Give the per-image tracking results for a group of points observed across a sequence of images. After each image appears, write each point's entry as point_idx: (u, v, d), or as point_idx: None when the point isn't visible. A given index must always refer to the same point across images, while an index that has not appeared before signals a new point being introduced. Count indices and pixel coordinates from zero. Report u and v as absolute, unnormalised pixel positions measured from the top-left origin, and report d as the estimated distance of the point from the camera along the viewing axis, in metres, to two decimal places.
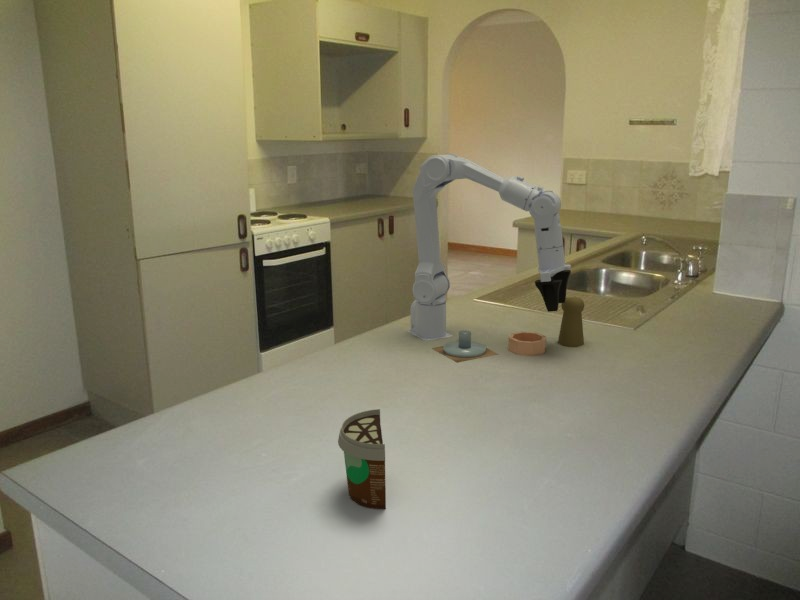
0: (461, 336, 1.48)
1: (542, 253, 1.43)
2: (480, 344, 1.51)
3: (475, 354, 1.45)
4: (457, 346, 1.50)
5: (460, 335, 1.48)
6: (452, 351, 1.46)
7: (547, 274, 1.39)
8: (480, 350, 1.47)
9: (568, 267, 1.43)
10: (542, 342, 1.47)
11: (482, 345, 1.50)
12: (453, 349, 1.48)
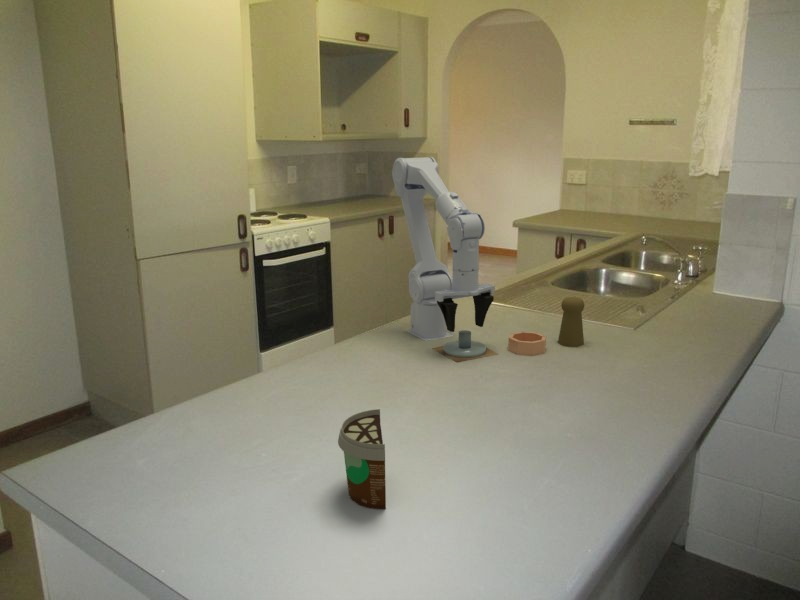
0: (461, 336, 1.48)
1: None
2: (480, 344, 1.51)
3: (475, 354, 1.45)
4: (457, 346, 1.50)
5: (460, 335, 1.48)
6: (452, 351, 1.46)
7: (438, 294, 1.42)
8: (480, 350, 1.47)
9: (471, 293, 1.42)
10: (542, 342, 1.47)
11: (482, 345, 1.50)
12: (453, 349, 1.48)
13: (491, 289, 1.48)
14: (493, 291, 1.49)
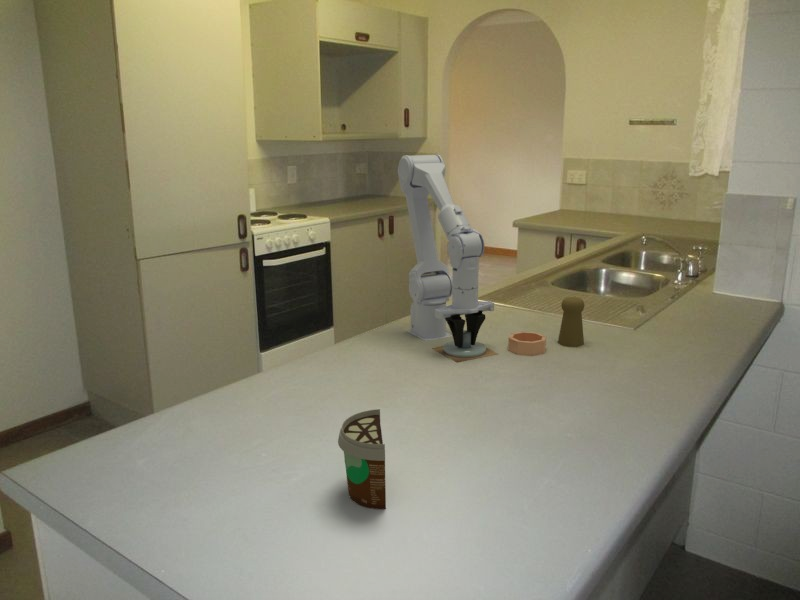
0: None
1: (452, 291, 1.46)
2: (480, 344, 1.51)
3: (475, 354, 1.45)
4: None
5: None
6: (452, 351, 1.46)
7: (438, 312, 1.43)
8: (480, 350, 1.47)
9: (470, 311, 1.44)
10: (542, 342, 1.47)
11: (482, 345, 1.50)
12: (453, 349, 1.48)
13: (491, 306, 1.49)
14: (493, 308, 1.50)
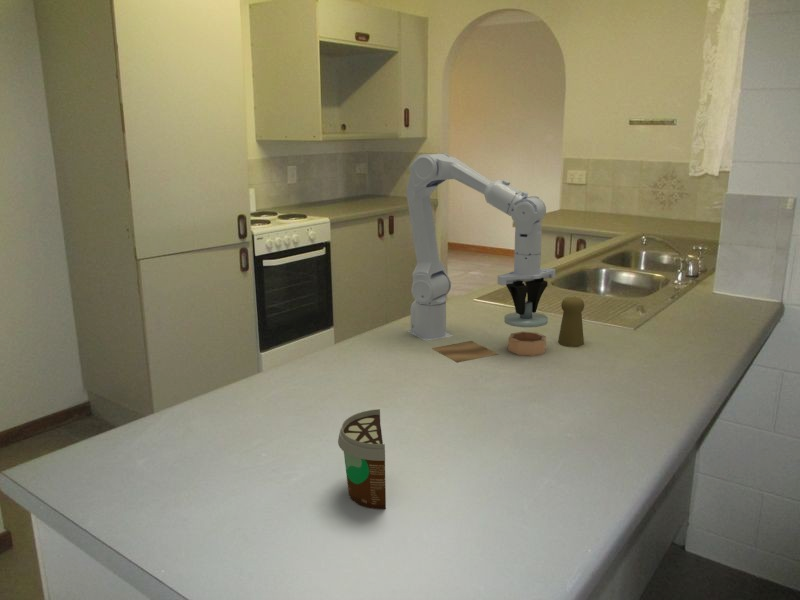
0: None
1: (514, 257, 1.45)
2: (539, 314, 1.50)
3: (540, 323, 1.44)
4: (518, 317, 1.48)
5: None
6: (516, 321, 1.45)
7: (501, 278, 1.42)
8: (543, 319, 1.46)
9: (534, 277, 1.42)
10: (542, 342, 1.47)
11: (542, 315, 1.50)
12: (516, 320, 1.46)
13: (552, 273, 1.48)
14: (554, 275, 1.48)
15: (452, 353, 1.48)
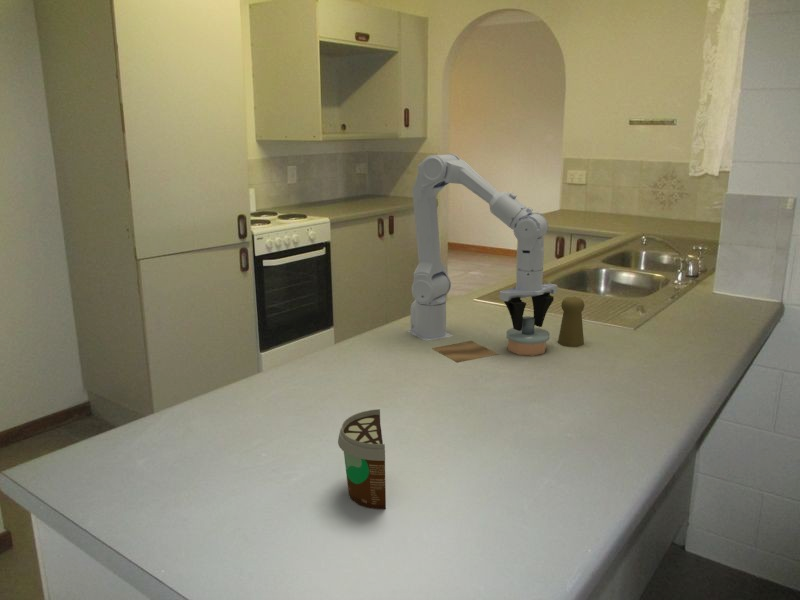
0: (526, 322, 1.47)
1: (517, 273, 1.46)
2: (541, 330, 1.51)
3: (542, 339, 1.45)
4: (520, 332, 1.49)
5: (524, 321, 1.48)
6: (518, 337, 1.46)
7: (504, 294, 1.43)
8: (545, 335, 1.47)
9: (536, 293, 1.43)
10: None
11: (544, 330, 1.51)
12: (518, 335, 1.47)
13: (554, 289, 1.49)
14: (556, 290, 1.49)
15: (452, 353, 1.48)
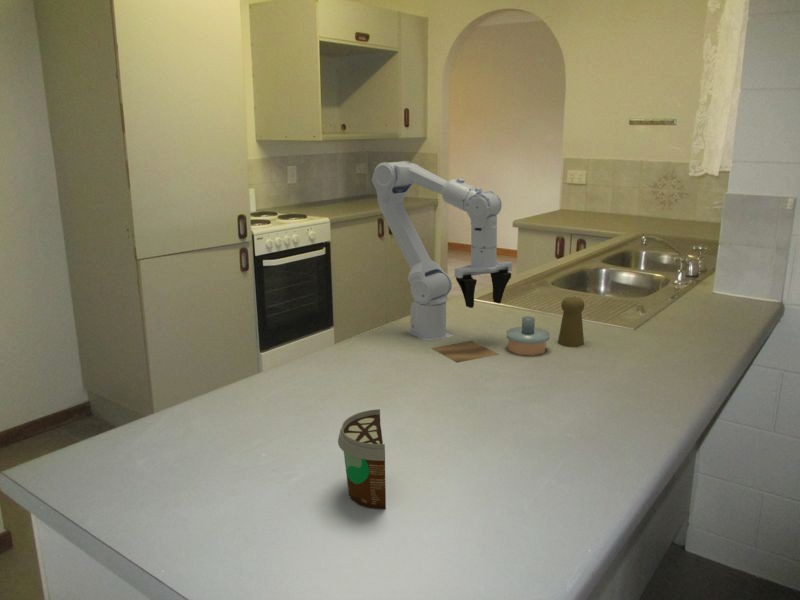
0: (526, 322, 1.47)
1: (471, 250, 1.49)
2: (541, 330, 1.51)
3: (542, 339, 1.45)
4: (520, 332, 1.49)
5: (524, 321, 1.48)
6: (518, 337, 1.46)
7: (458, 271, 1.46)
8: (545, 335, 1.47)
9: (489, 270, 1.46)
10: None
11: (544, 330, 1.51)
12: (518, 335, 1.47)
13: (508, 266, 1.52)
14: (511, 268, 1.53)
15: (452, 353, 1.48)
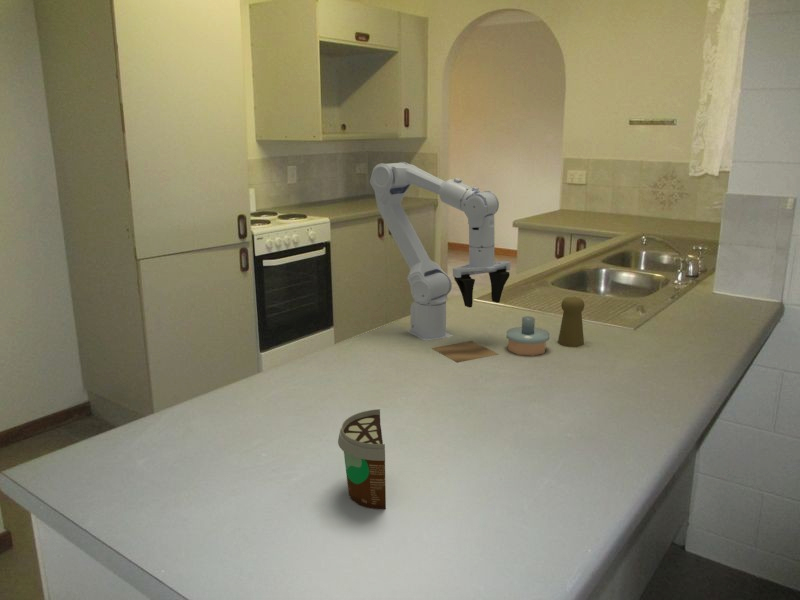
0: (526, 322, 1.47)
1: (469, 250, 1.49)
2: (541, 330, 1.51)
3: (542, 339, 1.45)
4: (520, 332, 1.49)
5: (524, 321, 1.48)
6: (518, 337, 1.46)
7: (456, 270, 1.46)
8: (545, 335, 1.47)
9: (488, 269, 1.46)
10: None
11: (544, 330, 1.51)
12: (518, 335, 1.47)
13: (507, 265, 1.52)
14: (509, 267, 1.53)
15: (452, 353, 1.48)
